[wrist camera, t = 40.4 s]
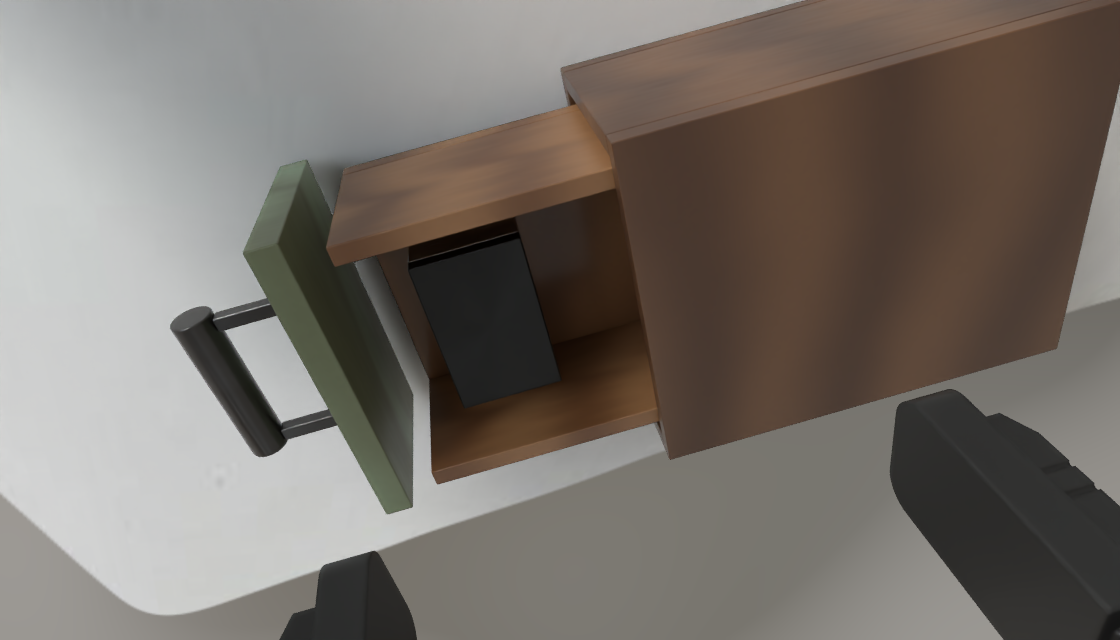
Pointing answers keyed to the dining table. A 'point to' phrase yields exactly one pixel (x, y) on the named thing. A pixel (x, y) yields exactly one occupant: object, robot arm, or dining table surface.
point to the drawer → (359, 338)
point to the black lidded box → (484, 311)
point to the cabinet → (850, 197)
